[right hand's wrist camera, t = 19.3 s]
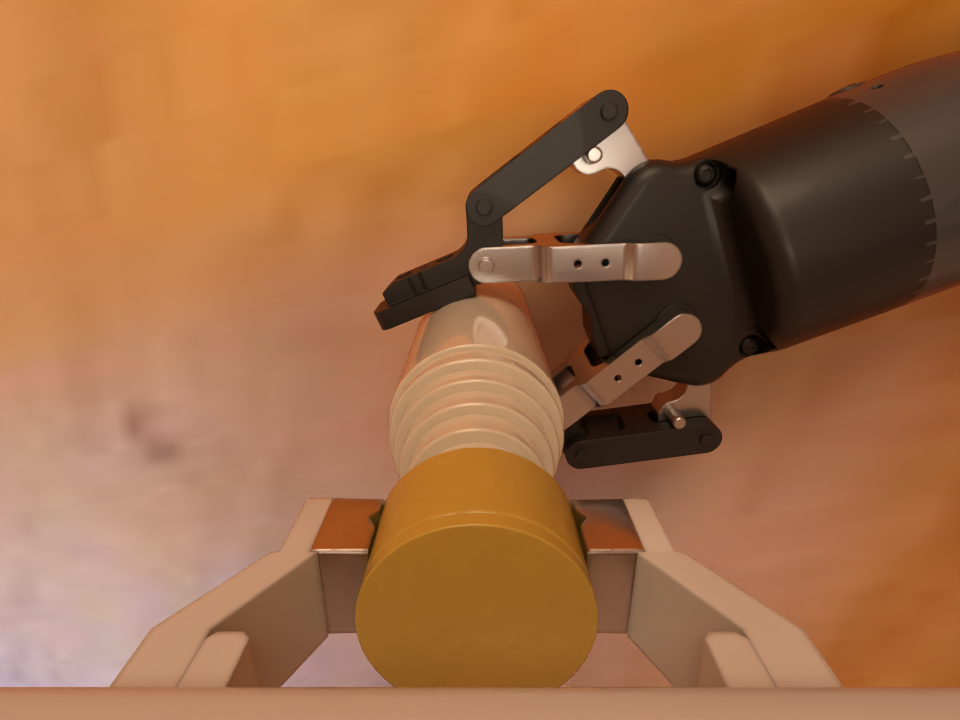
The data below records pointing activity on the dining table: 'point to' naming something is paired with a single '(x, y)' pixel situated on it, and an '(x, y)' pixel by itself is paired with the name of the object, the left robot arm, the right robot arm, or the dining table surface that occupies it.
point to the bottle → (477, 384)
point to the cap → (476, 577)
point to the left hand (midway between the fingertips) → (414, 378)
